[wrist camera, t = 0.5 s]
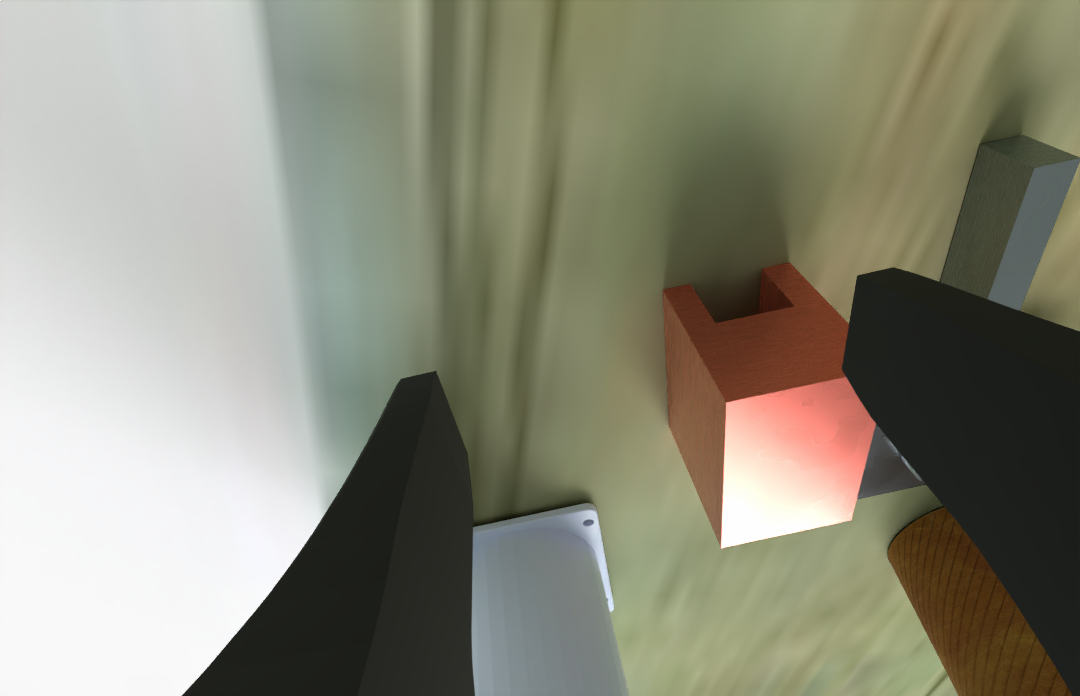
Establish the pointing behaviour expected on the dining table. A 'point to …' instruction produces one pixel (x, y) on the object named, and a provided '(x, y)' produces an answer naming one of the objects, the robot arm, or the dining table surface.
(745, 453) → the block
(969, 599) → the disposable coffee cup
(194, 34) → the dining table surface
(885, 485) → the lip
